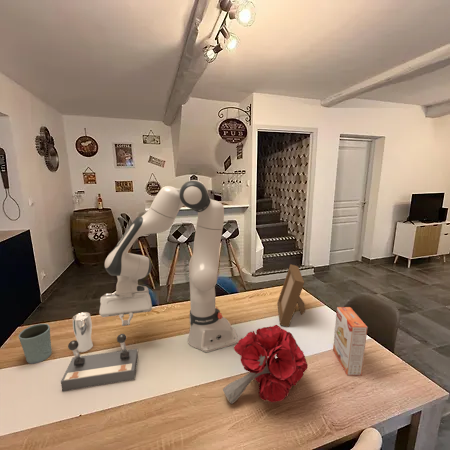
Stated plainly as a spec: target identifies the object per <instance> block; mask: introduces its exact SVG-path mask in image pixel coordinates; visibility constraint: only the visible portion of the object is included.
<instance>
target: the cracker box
mask: <svg viewBox="0 0 450 450" xmlns="http://www.w3.org/2000/svg"><path fill="white" fill-rule="evenodd" d="M368 328H369V327H368V326H367V325H366V323H364V322H363V320H362V319H361V318H360V317H359V315H358V314H357V313H356V312H355V311H354V310H353V308H352V307H350V306H337V307H336V315H335V325H334V334H333V335H334V336H333V343H332V345H333V347H332V351H333V353H334V354H335V357H336V359H337V360H338V361H339V364H340V365H341V367H342V369H343V370H344V372H345V374H346V375H347V376H362V375H363V367H364V366H363V365H364V358H365V352H366V343H367V342H366V341H367V335H368Z"/></svg>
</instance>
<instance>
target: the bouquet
mask: <svg viewBox="0 0 450 450" xmlns="http://www.w3.org/2000/svg"><path fill="white" fill-rule="evenodd" d="M233 350H234V351H235V353H236V354H237V355H239V356H240V363H241V365H242V367H243V369H244V370H246V371H247V372H248V373H246V375H244V376H242V377H239V378H238V379H235V380H234V381H232V382H230V383H228V384H226V386H224V388H222V391H223V393H224V396H225V397H226V399H227V401H228V402H229V403H230V404H231V405H232V404H234V403H235V402H236V401H237V400H238V399H239V398H240V397H241V396H242V394H243V393H244V392H245V390H246V388H247V387H248V386H249V384H250V383H252V381H253V380H254V381H256V382H257V383H258V395H259V398H260V399H262V401H266V402H269V403H277V402H282V401H283V400H285V399H286V397H288V396H289V393H290V390H291V389H292V387H294V386H297V383H299V381H300V380H302V379H303V376H304V373H305V372H306V371H307V369H308V365H309V364H308V363H307V359H306V356H305V354H304V351H303V350H301V347H300V345H298V343H297V340H296V339H295V337H294V336H293V334H292V333H291V332H290V331H287V330H286V329H284V328H282V327H281V326H280V325H278V324H274V325H273V326H271V325H270V326H264V327H261V328H258V329H257V330H256V331H254V330H252V331H250V332H247V334H246V335H245V336H244V337H243V338H240V339H239V340H237V343H236V344H234V345H233Z"/></svg>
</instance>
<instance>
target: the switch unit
mask: <svg viewBox="0 0 450 450" xmlns="http://www.w3.org/2000/svg"><path fill="white" fill-rule="evenodd" d="M138 350H139V349H138V348H133V349H132V348H131V349H126V351H129V353H130V355H129V358H126V359H120V353H121V352H122V350H116V351H109V352H103V353H94V354H87V355H82V356H81V355H80V357H81V358H85V363H84V365H77V366H74V360H75V356H73V357H72V358H71V361H70V363H69V364H68V366H67V368H66V370H65V373H64V374H63V376H62V378H61V380H60V384H61V385H60V386H61V392H67V391H72V390H79V389H86V388H92V387H96V386H97V387H99V386H104V385H109V384H110V385H111V384H117V383H122V382H130V381H135V378H136V373H137V367H138V361H139V354H138V353H139V351H138Z"/></svg>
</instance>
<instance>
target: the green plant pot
mask: <svg viewBox="0 0 450 450" xmlns="http://www.w3.org/2000/svg"><path fill="white" fill-rule="evenodd" d="M18 339H19V342H20V344H21V348H22V351H23V354H24V357H25V360H26V362H27V363H28V364H30V365H32V364H33V365H34V364H38V363H41V362H43V361H46V360H47V359H48V358H49V357H51V356H52V352H53V351H52V349H53V348H52V341H51V327H50V324H49V323H38V324H32V325H30V326H28V327H25V328H24V329H23V330H22V331H20V333H19V334H18Z"/></svg>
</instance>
